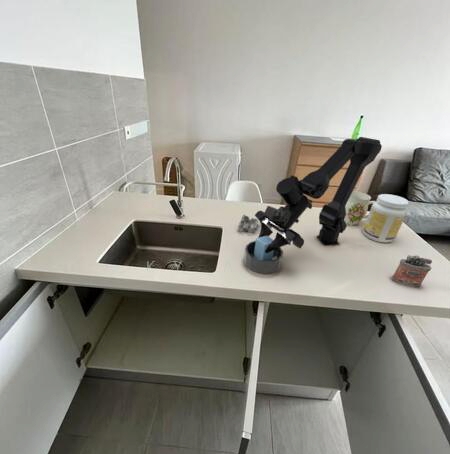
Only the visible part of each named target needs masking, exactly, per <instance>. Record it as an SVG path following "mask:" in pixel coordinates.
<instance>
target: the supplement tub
mask: <svg viewBox="0 0 450 454" xmlns="http://www.w3.org/2000/svg"><path fill="white" fill-rule="evenodd" d="M409 203H410V202H409V200H408V199H406V198H404V197H402V196H399V195H395V194H390V193H389V194H388V193H380V194H379V195H378V196H377V198H376V200H375V202H374V203H373V204H371V207H370V210H369V213H368V214H369V215H368V214H367V215H368V218H366V220H365V223H364V226H363V228H362V233H363V234H364V236H365V237H367V238H368V239H370V240H371V241H375V242H378V243H391V242H393V241H395V239H396V238H397V235H398V233H399V231H400V228H401V227H402V224H403V222H404V221H405V218H406V216H407V214H408V209H407V208H408V206H409Z"/></svg>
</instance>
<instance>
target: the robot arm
mask: <svg viewBox="0 0 450 454" xmlns="http://www.w3.org/2000/svg"><path fill="white" fill-rule="evenodd" d="M382 148H383V146H382V144H381V141H380V139H376V138H369V137H364V136H359V137H358V138H345V139H344V140H343V142H342V143H341V145H340V146H339V147H338V148H337V150H336V151H334V152H333V154H332V155H331V156H330V157H329V158H328V159H327V160H326V161H325V162H324V163H323V164H322V165H321V166H320V168H318V169H317V170H314V171H311V172H309V173H308V174H306V175H305V177H303V178H302V179H300V180H299V177H298V176H296V175H293V174H292V175H290V176H289V177H286V178H283V179H282V180H280V181H279V182H278V183H277V184H276V192H277V193H278V195H279V196H280V197H281V199H282V200H283V201H284V203H285V205H284V206H280V207H279V208H276V207H273V206H271V205H267V206H266V208H265V211H263V210H257V212H256V213H255V214H254V215H253V216H254V217H255V218H256V219H258V220H259V224H260V232H259V234H258V237H257V238H259V237H263V236H266V235H267V236H268V237H270V236H271V235H272V234H273V233H274V232H273V230H272V228H273V229H274V230H276V231H277V232H276V234H275V238H274V239H273V241H272V243H271V244H270V245H269V246H268V247H267V249H266V250H265V252H266V253H269V252H271V251H273V250H275V249H277V248H279V247H281V248H282V247H284V246H288V245H289V246H291V243H292V245H293V246H295V248H298V249H302V247H303V246H304V245H305V239H304V238H303V237H302V236H301V234H300V233H299V232H297V231H295V230H293V229H292V227H293V225H294V224H295V223H296V224H298V223H299V222H300V220H299V218H300V217H301V216H302V214H303V213H304V212H305V211H306V210H307V208H308V209H309V210H312V208H313V204H312V203H313V202H312V201H313V200H312V199H314V200H318V199H320V198H322V197H323V196H324V194H325V193H326V191H327V190H328V189H329V187H330V181H331V180H332V179H333V178H334V177H335V176H336V175H337V173H339V171H340V170H341V169H342V168H344V166H345V165H346V164H347V163H348V162H349V165H348V167H347V169H346V171H345V173H344V175H343V177H342V179H341V181H340V183H339V185H338V187H337V189H336V191H335V194H334V196H333V198H332V199H331V201H330V202H328V203H327V204H326V203H325V204H323V205H322V209H321V211H320V212H318V213H319V215H318V221H319V222H318V224H319V225H321V229H319V232H318V235H316V238H317V239H318V240H319V241H320V242H321V244H322V245H324V246H335V245H337V246H338V245H340V242H339V241H338V240H339V236H340V234H343V233H344V232H345V231H346V229H347V227H348V224H346V223H345V221H344V219H345V216H346V208H345V206H346V203H347V202H348V200H349V198H350V196H351V194H352V192H353V191H355V187H356V185H357V184H358V182H359V180H360V178H361V176H362V174H363V172H364V170H365V168H366V167H367V166H369V165H370V164H371V163H373V162H374V161H375V159H376V158H377V156H378V155H379V154H380V152H381V151H382ZM308 197H310V198H311V199H310V198H308Z"/></svg>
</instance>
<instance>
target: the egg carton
mask: <svg viewBox="0 0 450 454" xmlns="http://www.w3.org/2000/svg"><path fill="white" fill-rule="evenodd" d="M259 223H260V221H259V220H258V219H257V218H256V217H255V218H254V217H251V218H250V216H248V215H246V214H245V213H243V215H242V216H241V219H240V221H239V223H238V233H240V234H241V233H244V232H248V234H253V233H255V232H256V229H257V228H258V224H259Z"/></svg>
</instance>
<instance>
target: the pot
mask: <svg viewBox="0 0 450 454" xmlns="http://www.w3.org/2000/svg"><path fill="white" fill-rule="evenodd" d="M255 244H256V240H252V241H250V242H248V243H247V244H246V245H245V248H244V256H243V262H244V265H245V267H246V268H247V269H248V270H250V271H251V272H253V273H255V274H258V275H272V274H275V273H278V271H279V270H280V269H281V266H282V261H283V258H284V251H283V249H282V247H279V248H277V249H275V250H274V253H273V258H272V260H269V261H265V260H259V259H257V258H254V251H255Z"/></svg>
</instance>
